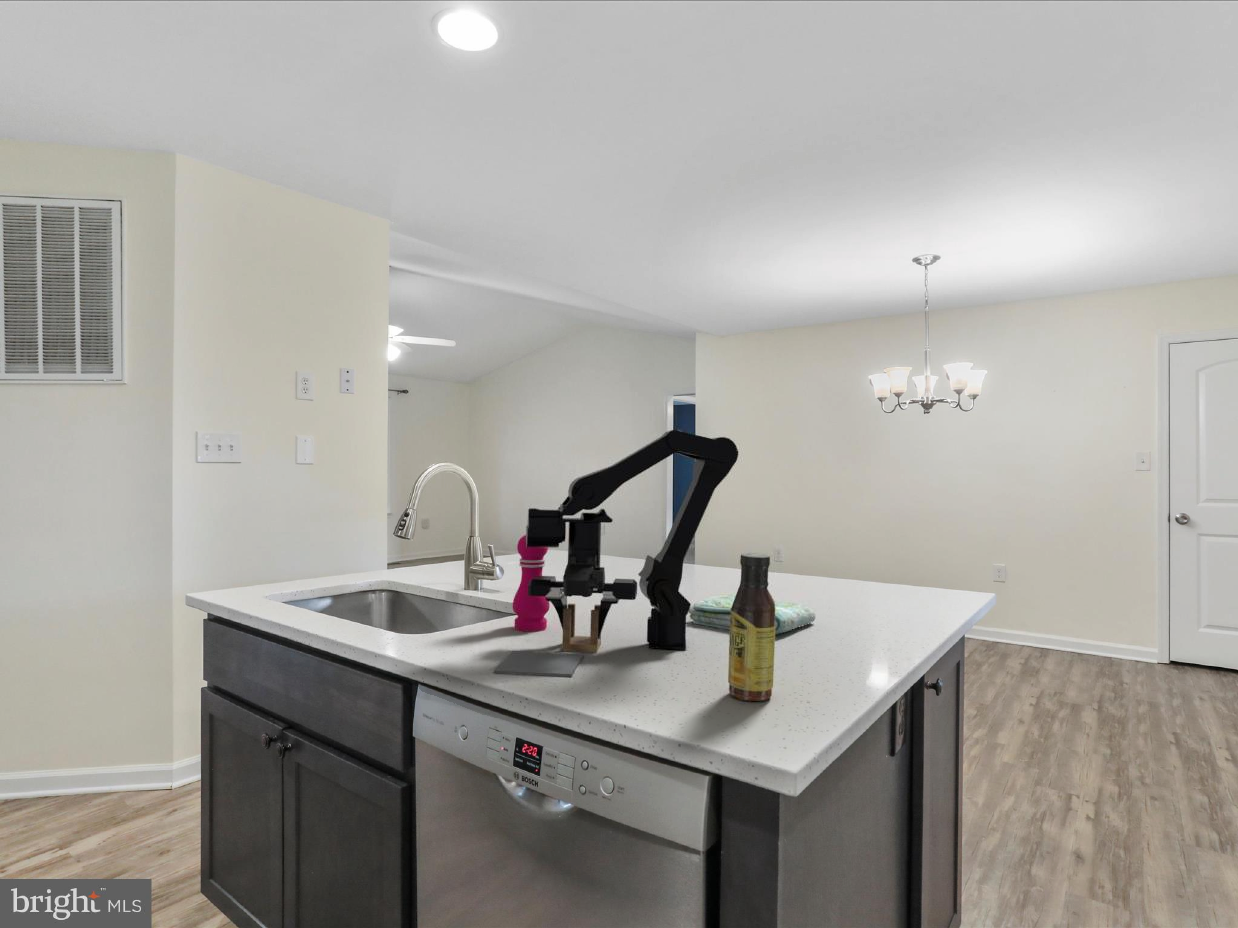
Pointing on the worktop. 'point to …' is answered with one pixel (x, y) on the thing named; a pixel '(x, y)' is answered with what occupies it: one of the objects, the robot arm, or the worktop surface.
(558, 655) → the mat
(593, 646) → the stool
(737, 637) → the sauce bottle
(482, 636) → the worktop surface
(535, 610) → the pepper mill
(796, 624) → the towel
